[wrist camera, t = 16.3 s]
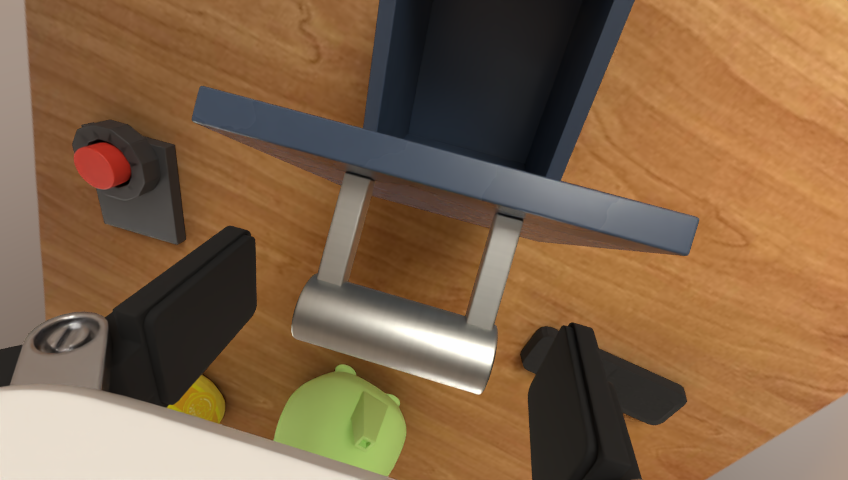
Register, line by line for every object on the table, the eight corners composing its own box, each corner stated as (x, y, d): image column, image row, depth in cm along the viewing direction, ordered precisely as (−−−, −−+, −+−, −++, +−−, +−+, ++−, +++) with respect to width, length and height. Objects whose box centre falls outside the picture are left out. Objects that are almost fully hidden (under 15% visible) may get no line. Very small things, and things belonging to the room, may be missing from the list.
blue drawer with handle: (198, 83, 8) (137, 326, 8) (702, 217, 8) (621, 478, 8) (355, 176, 22) (329, 269, 22) (542, 227, 21) (514, 323, 21)
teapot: (349, 320, 41) (290, 426, 30) (451, 389, 42) (431, 513, 32) (274, 407, 50) (208, 512, 39) (359, 460, 52) (319, 574, 41)
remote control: (516, 352, 39) (654, 418, 39) (516, 365, 37) (659, 433, 37) (542, 319, 37) (689, 388, 36) (543, 331, 35) (696, 404, 35)
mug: (248, 411, 52) (182, 507, 41) (190, 420, 55) (117, 511, 45) (188, 338, 47) (97, 426, 37) (130, 354, 51) (32, 438, 40)
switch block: (90, 107, 35) (56, 114, 32) (173, 130, 34) (145, 139, 31) (114, 218, 40) (87, 231, 38) (186, 239, 40) (163, 254, 37)
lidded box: (433, -60, 24) (392, -107, 16) (602, -21, 24) (654, -48, 15) (398, 138, 31) (356, 180, 22) (531, 173, 30) (540, 231, 21)
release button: (88, 137, 33) (68, 142, 31) (127, 148, 33) (109, 153, 31) (97, 176, 35) (79, 183, 33) (134, 187, 34) (117, 194, 33)
